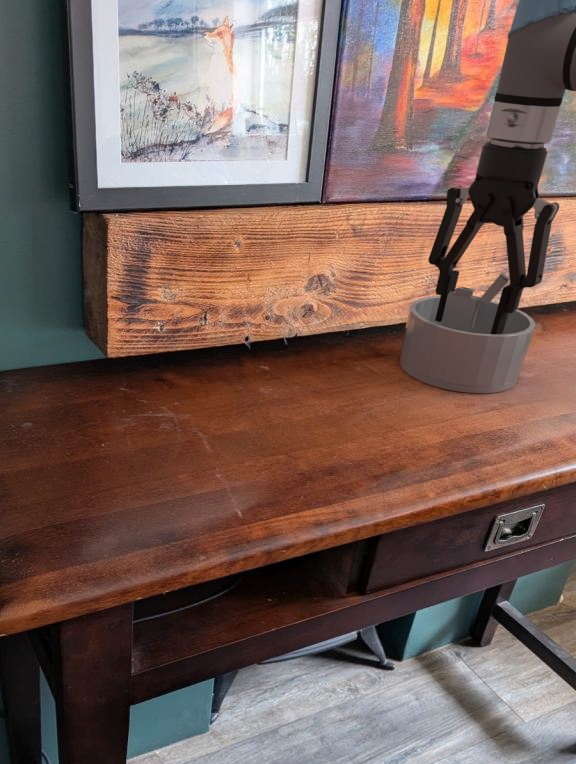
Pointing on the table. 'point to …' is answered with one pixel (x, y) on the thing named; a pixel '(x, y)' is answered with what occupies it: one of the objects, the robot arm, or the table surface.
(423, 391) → the table surface
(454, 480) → the table surface
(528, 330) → the canister
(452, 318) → the lighter
